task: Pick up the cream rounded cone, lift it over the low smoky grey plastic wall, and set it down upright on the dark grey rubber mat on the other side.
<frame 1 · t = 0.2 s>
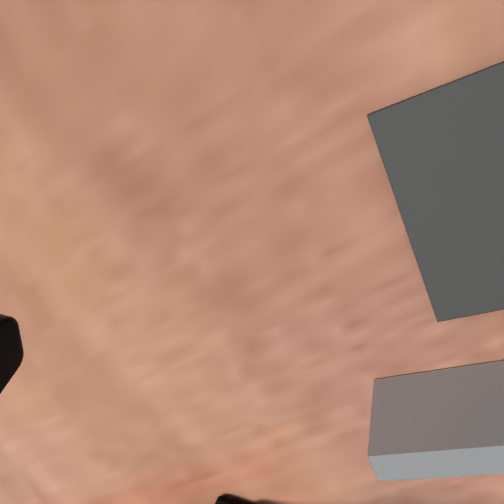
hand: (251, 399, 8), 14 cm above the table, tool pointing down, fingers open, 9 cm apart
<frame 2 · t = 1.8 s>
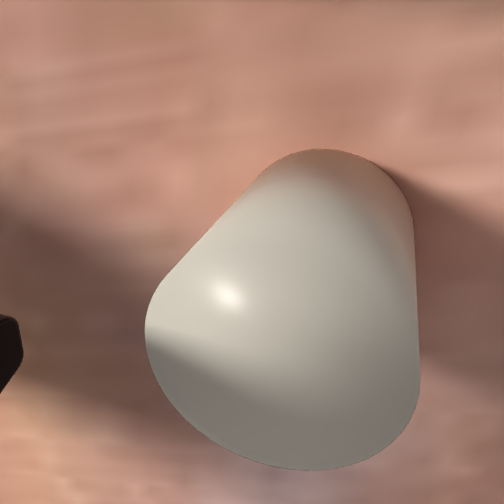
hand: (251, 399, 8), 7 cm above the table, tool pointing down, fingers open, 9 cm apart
cream rounded cone: (322, 235, 14), on the table
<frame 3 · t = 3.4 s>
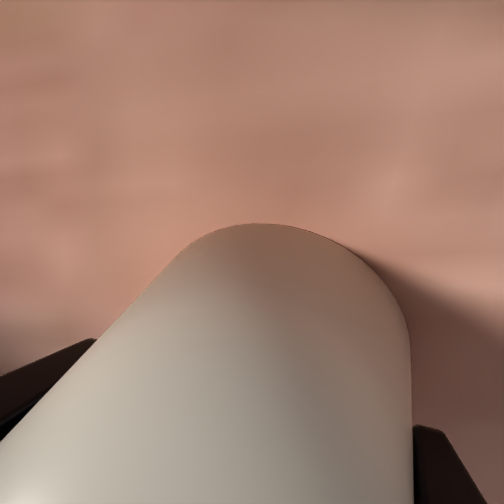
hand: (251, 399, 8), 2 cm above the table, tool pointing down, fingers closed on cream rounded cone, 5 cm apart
cream rounded cone: (273, 343, 9), on the table, touching gripper
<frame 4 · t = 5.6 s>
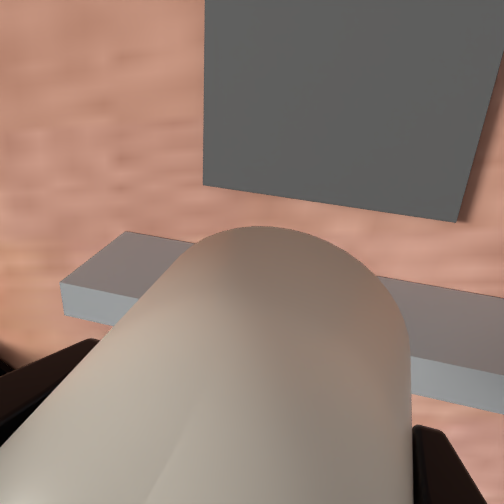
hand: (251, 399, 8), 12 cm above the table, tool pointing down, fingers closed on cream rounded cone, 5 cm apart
mat: (341, 66, 17), on the table
wall: (312, 279, 21), on the table
cream rounded cone: (273, 346, 9), point 11 cm above the table, touching gripper
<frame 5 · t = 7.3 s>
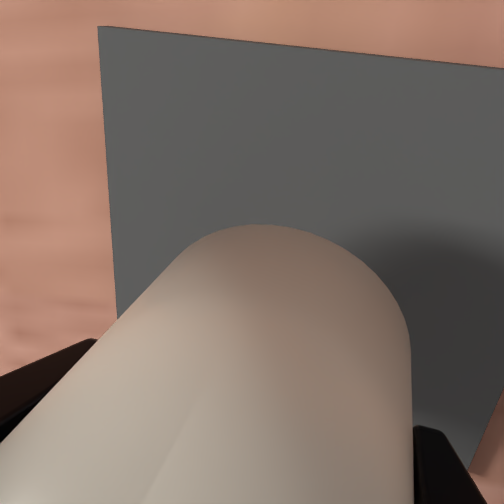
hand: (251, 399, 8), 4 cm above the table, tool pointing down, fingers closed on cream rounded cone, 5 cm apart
mat: (304, 272, 11), on the table
cream rounded cone: (273, 344, 9), point 3 cm above the table, touching gripper
when the fingers open (3 cm above the table, at t = 8.3 s): cream rounded cone drops 2 cm, resting on mat.
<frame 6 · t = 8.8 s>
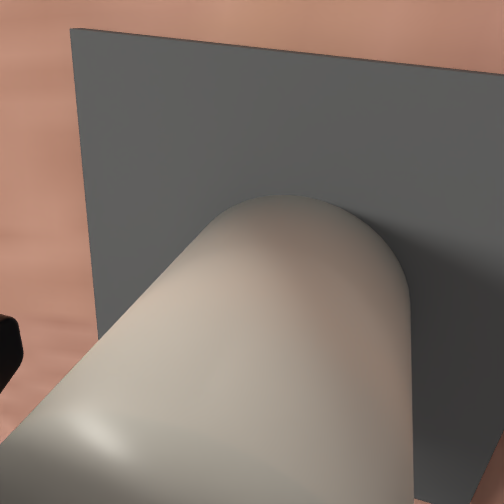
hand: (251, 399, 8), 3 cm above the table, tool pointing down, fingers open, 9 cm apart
mat: (295, 291, 11), on the table
cream rounded cone: (290, 302, 10), resting on mat
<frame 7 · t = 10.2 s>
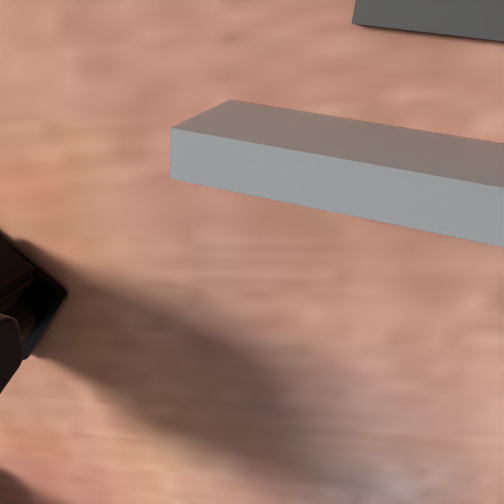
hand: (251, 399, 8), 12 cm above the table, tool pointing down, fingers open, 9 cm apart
wall: (478, 162, 16), on the table
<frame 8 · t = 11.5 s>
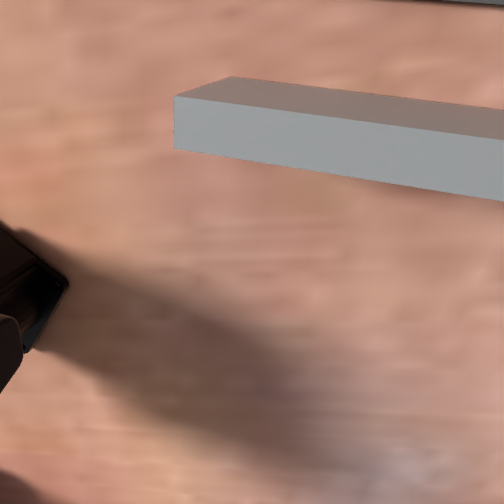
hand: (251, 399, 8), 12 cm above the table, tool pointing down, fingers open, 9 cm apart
wall: (481, 130, 16), on the table
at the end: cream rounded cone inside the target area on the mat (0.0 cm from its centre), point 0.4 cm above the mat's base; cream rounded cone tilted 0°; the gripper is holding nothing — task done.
